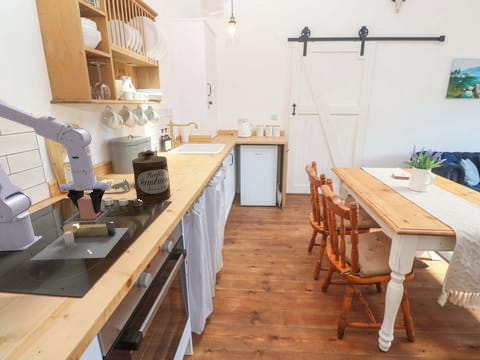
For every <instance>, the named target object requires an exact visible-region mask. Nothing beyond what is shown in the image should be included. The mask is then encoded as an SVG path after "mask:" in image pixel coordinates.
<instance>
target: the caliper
mask: <svg viewBox="0 0 480 360" xmlns="http://www.w3.org/2000/svg"><path fill="white" fill-rule="evenodd" d="M111 187H112V189H111V190H119V189H121V188H122V189H123V191H124V192H127V189H128V191H129V192H130V190H131V186H130V182H129V181H128V180H127V179H122V182H117V183H114V184H111ZM105 192H107V191H106V190H105ZM87 195H89V194H88V192H86V193H84V196H87Z"/></svg>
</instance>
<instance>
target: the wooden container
mask: <svg viewBox="0 0 480 360" xmlns="http://www.w3.org/2000/svg"><path fill="white" fill-rule="evenodd" d="M152 151H153V150H150V149H149V150H146V151H144V152H145V155H146V156H145V157H140V158H138V157H136V158H134V159H132V160H131V164H132V169H133V178H134V188H135V195H136V200H137V199H140V200H142V201H143V202H147V203H146V204H149V203H148V202H156V203H160V202H159V201H161V202H164V201H166V200H168V199H170V197H171V186H170V185H171V184H170V177H169V176H170V175H169V168H168V167H169V166H168V159H167V156H161V155H157V156H153V155H152V154H153V152H152Z"/></svg>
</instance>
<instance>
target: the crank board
mask: <svg viewBox="0 0 480 360" xmlns="http://www.w3.org/2000/svg"><path fill="white" fill-rule="evenodd" d="M127 230H129V227H115V231H116V234H114V235H111V236H109V235H103V236H80V237H78V238H75V239H74V236H73V232H72V231H68V232H65V233H64V232H63V234H61V235H60V236H59V237H58V238H56V239H55V240H54V241H52V242H51V243H50V244H49V245H47V246H46V247H45V248H43V249H42V250H41V251H40V252H38V253H37V254H36V255H35V256H32V258H31V259H30V261H46V260H49V261H50V260H74V259H75V260H76V259H78V260H79V259H80V260H81V259H102V258H106V257H107V256H108V254H109V253H110V251H112V249H114V247H115V245H117V243H118V242H119V241H120V240H121V238H122V237H123V235H124V234H125V233H126V232H127Z"/></svg>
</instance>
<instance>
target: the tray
mask: <svg viewBox="0 0 480 360" xmlns="http://www.w3.org/2000/svg"><path fill="white" fill-rule="evenodd" d="M109 217H111V211H110V209H100V214H99V215H98V216H97V217H96V218H94V220H78V219H81V217H80V213H79V211H77V212H76V213H75V214H73V215H71V216H70V217H69V218H67V220H65V221H63V222H62V224H63V225H62V226H64V225H65V224H68V223H72V222H79V224H80V225H91V224H101V222H102V221H103V220H105V219H106V218H109ZM76 220H77V221H76Z"/></svg>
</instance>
